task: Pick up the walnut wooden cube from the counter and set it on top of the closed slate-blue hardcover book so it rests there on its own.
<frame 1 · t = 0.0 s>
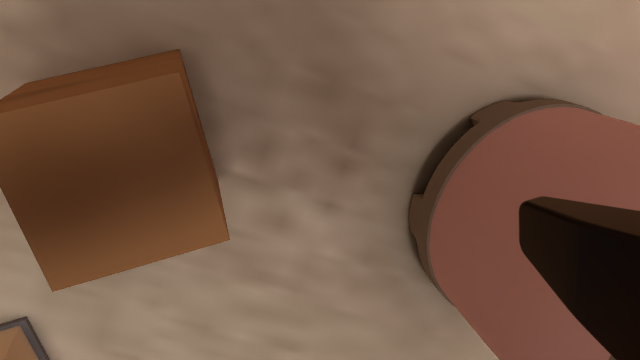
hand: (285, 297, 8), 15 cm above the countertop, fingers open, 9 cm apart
blender: (523, 213, 28), on the countertop
walnut cube: (129, 135, 21), on the countertop
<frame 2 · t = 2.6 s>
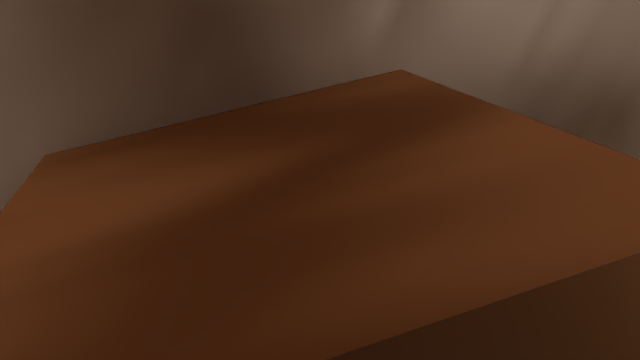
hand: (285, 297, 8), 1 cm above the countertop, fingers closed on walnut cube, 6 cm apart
walnut cube: (272, 260, 9), on the countertop, touching gripper
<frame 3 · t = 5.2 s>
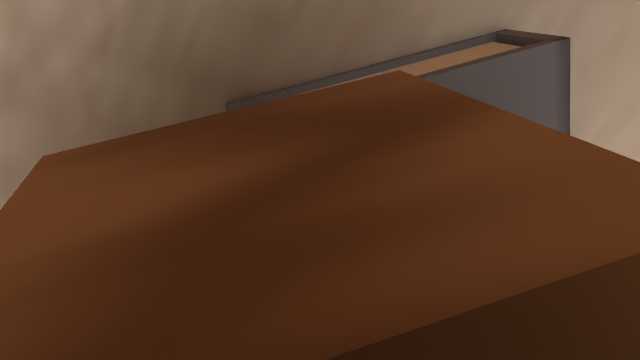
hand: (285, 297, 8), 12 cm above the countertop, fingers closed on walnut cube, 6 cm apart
book: (397, 232, 23), on the countertop
walnut cube: (271, 261, 9), point 11 cm above the countertop, touching gripper
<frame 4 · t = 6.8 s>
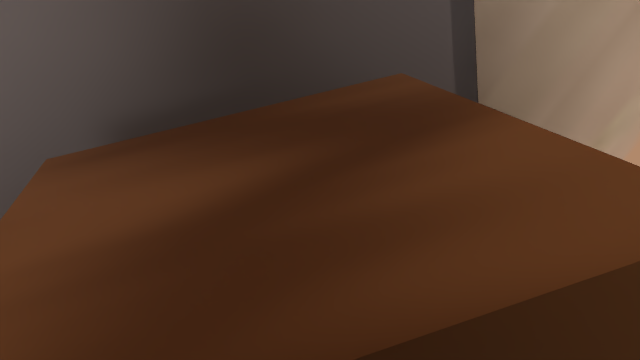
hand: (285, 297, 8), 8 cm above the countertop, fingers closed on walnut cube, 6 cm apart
book: (236, 156, 15), on the countertop
walnut cube: (273, 263, 9), point 6 cm above the countertop, touching gripper
when the fingers open (7 cm above the countertop, at t = 7.9 s): walnut cube drops 2 cm, resting on book.
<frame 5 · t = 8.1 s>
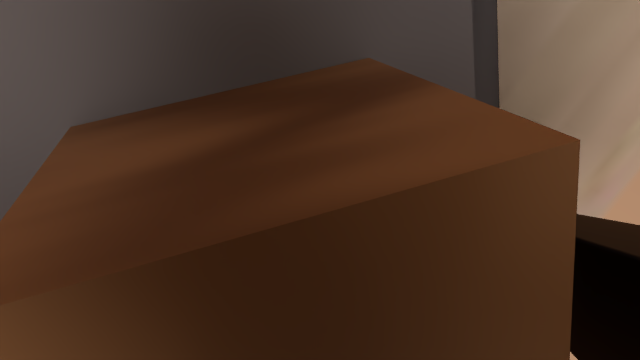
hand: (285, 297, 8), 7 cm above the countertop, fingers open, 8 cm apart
book: (240, 162, 15), on the countertop, touching walnut cube
walnut cube: (260, 221, 11), point 4 cm above the countertop, touching book
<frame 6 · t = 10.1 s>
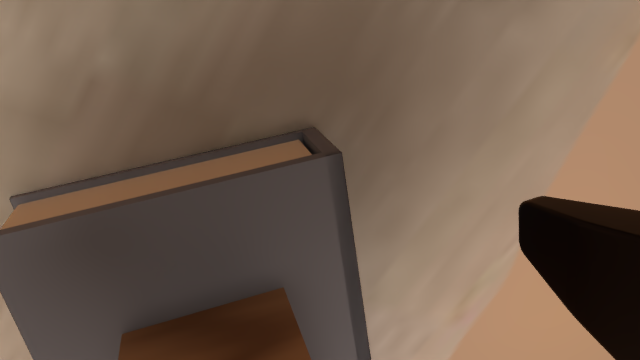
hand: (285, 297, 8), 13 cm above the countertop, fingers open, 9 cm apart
book: (217, 315, 23), on the countertop
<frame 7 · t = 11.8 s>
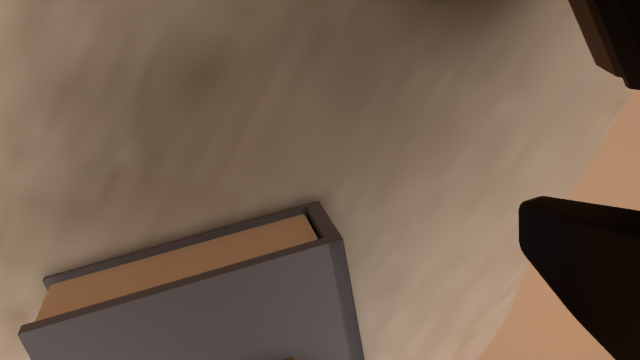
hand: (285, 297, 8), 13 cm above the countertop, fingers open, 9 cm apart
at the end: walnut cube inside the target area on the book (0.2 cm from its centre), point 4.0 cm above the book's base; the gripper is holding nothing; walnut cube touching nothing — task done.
